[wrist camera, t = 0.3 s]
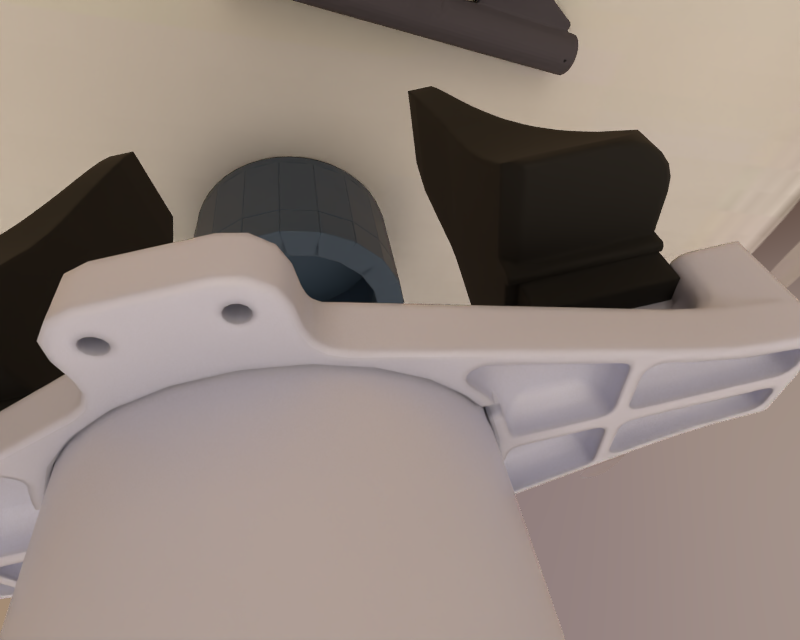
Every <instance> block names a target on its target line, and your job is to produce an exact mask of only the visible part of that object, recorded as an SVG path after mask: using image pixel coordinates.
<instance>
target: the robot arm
mask: <svg viewBox="0 0 800 640" xmlns="http://www.w3.org/2000/svg"><path fill="white" fill-rule="evenodd" d="M408 94H409V103H410V111H411V119H412V128H413V136H414V144H415V153H416V161H417V165H418V169H419V172H420V175H421V179H422V182H423V185H424V188H425V191H426V193H427V195H428V198H429V200H430V202H431V204H432V206H433V208H434V210H435V213H436V215H437V217H438V219H439V221H440V223H441V225H442V227H443V229H444V231H445V233H446V236H447V238H448V240H449V242H450V244H451V246H452V249H453V251H454V254H455V256H456V259H457V262H458V265H459V268H460V271H461V274H462V277H463V280H464V283H465V287H466V290H467V293H468V296H469V299H470V303H471V305H440V304H395V303H350V302H321V301H318V300H315V299H312V298H311V297H309V296H308V295H307V294H306V293H305V291H304V289H303V288H302V286H301V284H300V282H299V279H298V277H297V275H296V272H295V270H294V267H293V265H292V263H291V262H290V261H289V259H288V258H287V257H286V256H285V255H284V253H283V252H282V251H281V250H280V249H279V248H278V246H277V245H276V244H274V243H271V242H269V241H266V240H264V239H262V238H259V237H257V236H254V235H252V234H250V233H214V234H209V235H205V236H200V237H196V238H191V239H187V240H182V241H178V242H173V216H172V214H171V213H170V211H169V210H168V208H167V206H166V205H165V203H164V201H163V200H162V198H161V196H160V195H159V193H158V191H157V190H156V188H155V187H154V185H153V183H152V182H151V180H150V178H149V177H148V175H147V173H146V172H145V170H144V168H143V167H142V165H141V164H140V162H139V160H138V159H137V157H136V155H135V154H134V152H129V153H125V154H120V155H116V156H111V157H108V158H106V159H104V160H103V161H101V162H99V163H98V164H96V165H95V166H93V167H92V168H91V169H89V170H88V171H87V172H85V173H84V174H83V175H81V176H80V177H79V178H78V179H76V180H75V181H74V182H73V183H71V184H70V185H69V186H68V187H66V188H65V189H64V190H63V191H61V192H60V193H59V194H58V195H56V196H55V197H54V198H52V199H51V200H50V201H48V202H47V203H46V204H44V205H43V206H42V207H40V208H39V209H38V210H36V211H35V212H34V213H32V214H31V215H30V216H28V217H27V218H26V219H24V220H23V221H21V222H20V223H18V224H17V225H15V226H14V227H12V228H11V229H9V230H8V231H6V232H4V233H3V234H1V235H0V599H2V598H11V597H12V599H11V602H10V605H9V608H8V611H7V615H6V617H5V621H4V624H3V627H2V630H1V633H0V640H565V637H564V635H563V632H562V629H561V626H560V623H559V620H558V617H557V615H556V611H555V609H554V606H553V603H552V600H551V597H550V595H549V591H548V588H547V585H546V583H545V580H544V577H543V574H542V571H541V568H540V565H539V562H538V559H537V557H536V554H535V551H534V548H533V545H532V542H531V540H530V536H529V534H528V531H527V528H526V525H525V522H524V519H523V516H522V513H521V510H520V508H519V505H518V502H517V499H516V496H515V494H517V493H519V492H522V491H525V490H527V489H530V488H533V487H536V486H538V485H541V484H544V483H546V482H549V481H552V480H554V479H557V478H560V477H563V476H565V475H568V474H571V473H573V472H576V471H579V470H582V469H585V468H587V467H590V466H593V465H595V464H598V463H601V462H604V461H606V460H609V459H612V458H614V457H617V456H620V455H623V454H625V453H628V452H630V451H633V450H636V449H639V448H641V447H644V446H647V445H650V444H653V443H656V442H659V441H662V440H664V439H667V438H671V437H673V436H676V435H679V434H682V433H686V432H689V431H692V430H696V429H699V428H702V427H705V426H709V425H712V424H715V423H718V422H723V421H727V420H731V419H734V418H738V417H742V416H746V415H750V414H754V413H758V412H762V411H765V410H766V409H767V408H768V407H769V406H770V405H771V404H772V402H773V401H774V400H775V399H776V398H777V397H778V396H779V394H780V393H781V392H782V391H783V390H784V389H785V388H786V387H787V385H788V384H789V383H790V382H791V381H792V380H793V379H794V377H795V376H796V375H797V374H798V373H799V372H800V301H799V300H798V299H797V298H796V297H795V296H794V295H793V294H792V293H791V292H790V291H788V289H786V288H785V287H784V286H783V285H782V284H781V283H780V282H779V281H778V280H777V279H776V278H775V277H774V276H773V275H772V274H771V273H770V272H769V271H768V270H767V269H766V268H765V267H764V266H763V265H762V264H761V263H760V262H759V261H758V260H757V259H755V257H753V256H752V255H751V254H750V253H749V252H748V251H747V250H746V249H745V248H744V247H743V246H742V245H741V244H740V243H739V242H731V243H727V244H723V245H718V246H714V247H709V248H705V249H701V250H696V251H692V252H688V253H685V254H683V255H680V256H678V257H677V258H676V259H674V260H673V261H672V262H671V263H670V265H669V264H668V262H667V261H666V260H665V259H664V258H663V256H662V255H661V254H660V253H659V251H662V249H663V241H662V240H661V239H660V238H659V237H658V235H657V234H656V233H655V232H654V230H655V228H656V225H657V222H658V219H659V216H660V213H661V210H662V207H663V204H664V201H665V198H666V195H667V192H668V187H669V182H670V169H669V163H668V161H667V160H666V158H665V157H664V155H663V153H662V152H661V151H660V150H659V149H658V148H657V147H656V146H655V145H654V144H652V143H651V142H650V141H649V140H648V139H647V138H646V137H645V136H644V135H643V134H642V133H641V132H639V131H638V130H624V131H605V132H581V131H563V130H553V129H547V128H540V127H534V126H529V125H524V124H520V123H516V122H513V121H509V120H505V119H502V118H499V117H496V116H494V115H491V114H489V113H486V112H484V111H481V110H479V109H477V108H475V107H472V106H470V105H468V104H466V103H464V102H462V101H460V100H458V99H456V98H454V97H453V96H451V95H449V94H447V93H445V92H443V91H441V90H439V89H437V88H435V87H432V86H430V87H425V88H421V89H416V90H412V91H408Z"/></svg>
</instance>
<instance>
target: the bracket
mask: <svg viewBox="0 0 800 640" xmlns="http://www.w3.org/2000/svg"><path fill="white" fill-rule="evenodd" d="M293 1H297V2H300V3H304V4H307V5H311V6H315V7H318V8H322V9H325V10H329V11H332V12H336V13H339V14H343V15H347V16H350V17H354V18H357V19H361V20H364V21H368V22H372V23H375V24H379V25H382V26H386V27H389V28H393V29H396V30H400V31H404V32H407V33H411V34H414V35H418V36H421V37H425V38H428V39H432V40H436V41H439V42H443V43H446V44H450V45H453V46H457V47H461V48H464V49H468V50H471V51H475V52H478V53H482V54H485V55H489V56H493V57H496V58H500V59H503V60H507V61H510V62H514V63H517V64H521V65H525V66H528V67H532V68H535V69H539V70H542V71H546V72H550V73H553V74H557V75H562V74H564V73H565V72H567V71H568V70H569V69H570V67H571V66H572V64H573V62H574V60H575V58H576V55H577V51H578V39H577V37H576V35H574V34H571V33H569V32H568V29H569V27H570V22H569V20H568V19H567V18H566V16H565V15H564V14H563V12H562V11H561V10H560V8H559V7H558V5H557V4H556V3H555V1H554V0H477V3H475V2H471V1H467V0H293Z"/></svg>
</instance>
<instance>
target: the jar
mask: <svg viewBox="0 0 800 640" xmlns="http://www.w3.org/2000/svg"><path fill="white" fill-rule="evenodd" d="M214 233H250V234H252V235H254V236H257V237H259V238H262V239H264V240H266V241H269V242H271V243H274V244H276V245H277V246H278V248H279V249H280V250H281V251H282V252H283V253H284V255H285V256H286V257H287V258H288V259H289V261H290V262H291V263H292V265H293V267H294V270H295V272H296V275H297V277H298V279H299V282H300V284H301V286H302V288H303V289H304V291H305V293H306V294H307V295H308V296H309V297H311V298H312V299H315V300H318V301H321V302H350V303H395V304H404V300H403V296H402V291H401V286H400V281H399V278H398V274H397V270H396V266H395V262H394V258H393V254H392V251H391V247H390V243H389V239H388V235H387V231H386V228H385V224H384V220H383V216H382V214H381V212H380V209H379V207H378V205H377V203H376V201H375V200H374V198H373V197H372V195H371V194H370V192H369V191H368V190H367V189H366V188H365V187H364V186H363V185H362V184H361V183H360V182H359V181H357V180H356V179H355V178H354V177H353V176H351V175H349V174H348V173H346V172H344V171H343V170H341V169H339V168H337V167H334V166H332V165H330V164H327V163H324V162H321V161H318V160H313V159H307V158H299V157H276V158H270V159H264V160H260V161H257V162H253V163H250V164H247V165H245V166H243V167H241V168H239V169H237V170H235V171H233V172H232V173H230V174H229V175H227V176H226V177H224V178H223V179H222V180H221V181H220V182H219V183H217V184H216V185H215V187H214V188H213V189H212V190H211V191H210V192H209V194H208V195H207V197H206V199H205V200H204V202H203V204H202V207H201V210H200V212H199V217H198V222H197V226H196V230H195V234H194V238H196V237H200V236H205V235H209V234H214Z"/></svg>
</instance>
